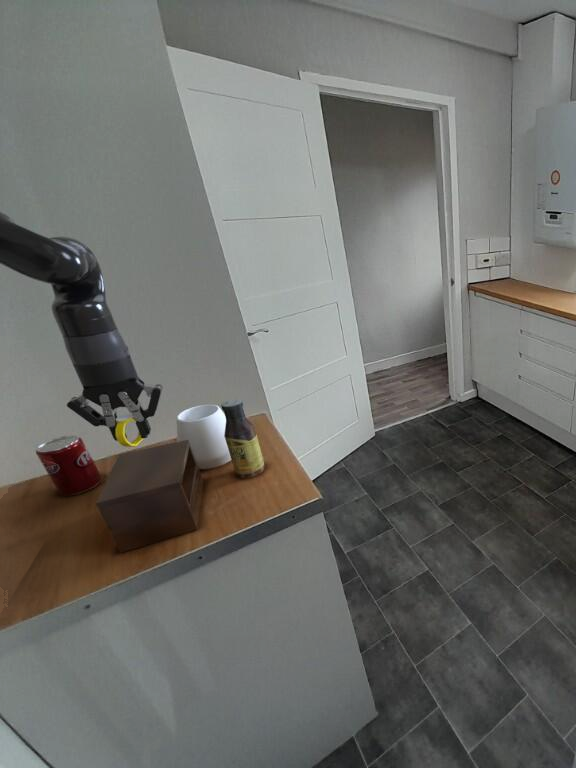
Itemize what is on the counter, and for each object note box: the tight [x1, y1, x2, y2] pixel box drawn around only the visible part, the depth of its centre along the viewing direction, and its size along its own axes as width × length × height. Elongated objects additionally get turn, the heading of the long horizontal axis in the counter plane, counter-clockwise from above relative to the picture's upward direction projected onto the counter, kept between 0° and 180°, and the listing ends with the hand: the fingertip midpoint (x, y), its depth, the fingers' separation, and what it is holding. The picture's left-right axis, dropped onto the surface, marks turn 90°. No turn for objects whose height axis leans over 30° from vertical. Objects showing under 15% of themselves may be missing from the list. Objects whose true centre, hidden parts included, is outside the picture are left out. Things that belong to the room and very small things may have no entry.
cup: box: [176, 404, 232, 470], centre depth 103 cm, size 13×13×14 cm
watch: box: [115, 413, 145, 448], centre depth 79 cm, size 6×3×6 cm, turn 8°
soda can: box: [35, 434, 103, 496], centre depth 93 cm, size 7×7×12 cm
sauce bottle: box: [220, 398, 266, 479], centre depth 97 cm, size 7×6×20 cm
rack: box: [95, 440, 204, 554], centre depth 85 cm, size 12×18×12 cm, turn 31°
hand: (134, 438), depth 80 cm, fingers closed on watch, 2 cm apart
